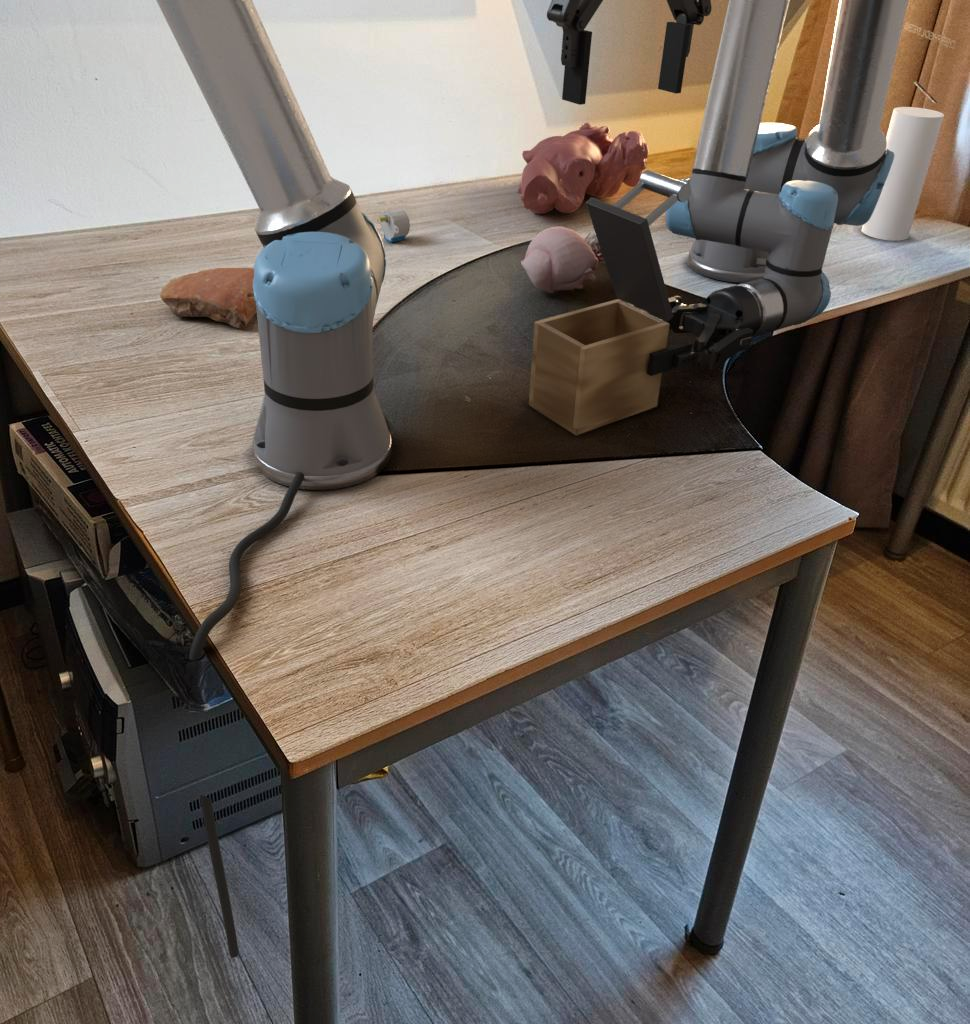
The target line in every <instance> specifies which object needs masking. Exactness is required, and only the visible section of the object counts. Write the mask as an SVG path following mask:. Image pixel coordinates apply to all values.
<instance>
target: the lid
mask: <svg viewBox="0 0 970 1024" xmlns="http://www.w3.org/2000/svg"><path fill="white" fill-rule="evenodd" d="M679 180H680V179H675V178H672V177H670V176H666V175H664V174H661V173H658V172H656V171H653V170H650V169H645V170H643V171H642V175H641V177H640V180H639V182H638V184H637V185H636V186H634V187H632V188H631V189H630V190H629V191H628V192H627V193H626V194H624V195H623V196H622V197H620V199H618V200H617V201H616V202H615V203H614V204H609V203H607V202H604V201H602V200H600V199H597V198H595V197H590V198H589V199H588V200H587V201H586V202H585V205H586V208H587V212H588V214H589V217H590V221H591V224H592V226H593V230H594V234H595V235H596V236H597V239H598V242H599V245H600V248H601V252H602V255H603V258H604V261H605V264H604V265H605V267H606V270H607V273H608V275H609V278H610V282H611V285H612V288H613V291H614V294H615V297H616V298H617V299H620V300H622V301H624V302H626V303H630V304H632V305H634V306H637V307H639V308H641V309H643V310H645V311H647V312H649V313H651V314H653V315H655V316H657V317H659V318H662V319H664V320H666V321H669V320H670V319H671V318H672V317H673V313H672V309H671V305H670V302H669V298H670V297H669V295H668V291H667V288H666V284H665V280H664V276H663V272H662V269H661V265H660V262H659V257H658V254H657V251H656V247H655V244H654V239H653V235H652V232H651V229H650V226H651V225H652V224H653V223H655V221H657V220H658V219H659V218H660V217H661V216H662V215H664V214H665V213H666V211H667V210H668V209H669V208H670V207H671V206H672V205H674V204H675V203H676V202H677V201H680V202H685V201H686V200H687V199H688V198H689V197H690V194H691V186H690V185H689V184H687V183H685V182H682V181H679ZM645 190H646V191H647V190H648V191H650V192H652V193H655V194H658V195H661V196H664V197H667V198H666V200H664V201H663V202H662V203H660V205H658V206H657V207H656V208H655V209H653V211H651V212H650V213H649V214H648V215H647V216H646V217H643V216H640V215H638V214H635V213H633V212H630V211H627V210H625V209H623V208H624V207H626V206H627V205H628V204H629V203H631V201H633V200H634V199H635V198H636V197H637V196H638V195H639V194H641V193H642V192H643V191H645Z"/></svg>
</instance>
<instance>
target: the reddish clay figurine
mask: <svg viewBox="0 0 970 1024" xmlns="http://www.w3.org/2000/svg"><path fill="white" fill-rule="evenodd" d="M610 130H611V129H610V127H608V126H607V125H605V126H604V125H602V126H600V127H598V126H592V125H591V124H590V123H589V122H585V123H584V124H581V126H580V127H579V129H576V130H573V131H570V132H568V133H566V134H565V135H554V136H549V137H546V138H544V139H542V140H540V141H539V142H538V143H536V145H535V146H534V147H532V148H531V149H529V150H523V151H522V153H521V156H522V158H523V160H524V162H525V163H526V164H525V166H524V168H523V170H522V172H521V173H522V174H521V180H520V181H521V182H520V185H519V186H518V189H517V194H518V195H520V200H521V202H522V203H523V207H524V209H525V210H529V211H530V212H532V213H535V214H546V213H549V212H551V211H552V210H553V209H554V208H555V209H556V210H557V211H559V212H560V213H564V214H569V213H573V212H575V211H578V209H579V208H581V206H582V203H584V199H585V195H591V196H593V197H596V198H599V197H604V198H606V197H608V198H610V197H613V196H614V195H617V194H618V192H619V191H620V189H621V186H622V184H624V185H625V186H627V187H631V188H634V187H635V186H636V185H637V184H638V183H639V180H640V177H641V175H642V173H643V172H644V171H645V170H647V164H648V161H647V160H648V157H649V146H648V143H647V142H646V141H645V139H644V135H643V134H642V132H638V131H636V130H631V131H628V132H627V131H624V132H621V133H618V135H617V136H615V137H614V138H612V137H611V136H610V135H609V134H610Z"/></svg>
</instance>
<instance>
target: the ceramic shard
mask: <svg viewBox="0 0 970 1024" xmlns="http://www.w3.org/2000/svg"><path fill="white" fill-rule="evenodd" d="M253 279H254V267H216V268H211V269H203V270H200V271H198V272H193V273H187V274H184V275H181V276H179V277H177V278H176V277H175V278H173V279H171V280H170V281H168V282H167V283H166V284H165V285H164V286H163V287H162V289H161V291H160V294H159V297H160V299H161V301H162V302H163V303H164V304H165V305H166V306H168V308H169V310H170V312H171V313H172V315H173V316H174V317H178V318H180V317H185V318H187V317H189V318H197V317H198V318H209V319H211V320H213V321H215V322H219V323H225V324H228V325H229V326H230V327H234V328H237V329H244V328H246V327H247V325H248V324H249V323H250V321H251V320H252V319H253V317H254V316H255V315H257V309H256V301H255V299H254V293H253Z"/></svg>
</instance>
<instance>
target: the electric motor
mask: <svg viewBox="0 0 970 1024" xmlns="http://www.w3.org/2000/svg"><path fill="white" fill-rule="evenodd" d="M376 222H377V224H378V225H380V227H381V231H382V233H383V238H384V240H385V241H388V242H389V243H394V242H395V243H396V242H399V241H404V240H405V238H406V236H407V235H409V233H410V229H411V222H410V218H409V216H408V213H407V212H406V210H404V209H403V208H397V209H392V210H387V211H384V212H383V213H382V214H381V216H378V217H377V218H376Z"/></svg>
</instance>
